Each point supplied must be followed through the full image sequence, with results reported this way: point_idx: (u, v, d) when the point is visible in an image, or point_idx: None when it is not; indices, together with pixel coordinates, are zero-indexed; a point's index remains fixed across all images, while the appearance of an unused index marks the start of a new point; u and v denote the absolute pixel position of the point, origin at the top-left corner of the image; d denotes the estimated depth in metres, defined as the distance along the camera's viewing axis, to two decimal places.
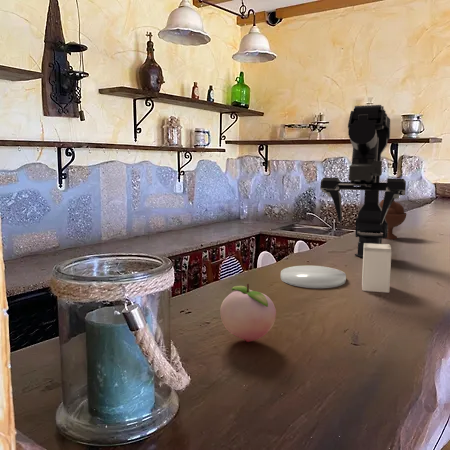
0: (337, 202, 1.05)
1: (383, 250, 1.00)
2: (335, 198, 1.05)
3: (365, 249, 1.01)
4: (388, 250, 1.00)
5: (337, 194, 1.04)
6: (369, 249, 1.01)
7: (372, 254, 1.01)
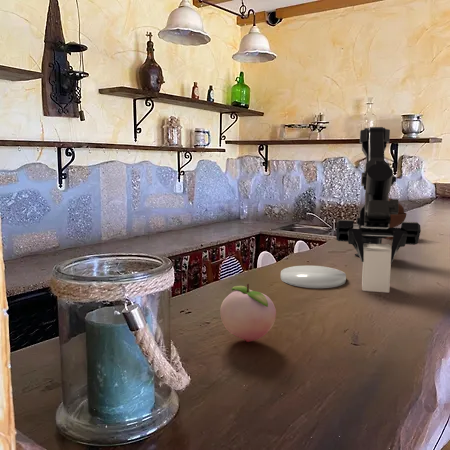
0: (359, 242, 1.05)
1: (383, 250, 1.00)
2: (358, 238, 1.05)
3: (365, 249, 1.01)
4: (388, 250, 1.00)
5: (360, 233, 1.05)
6: (369, 249, 1.01)
7: (372, 254, 1.01)
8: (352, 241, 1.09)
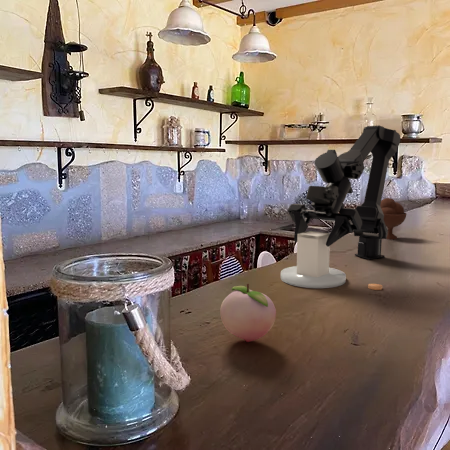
0: (297, 224, 1.15)
1: (311, 237, 1.08)
2: (297, 220, 1.15)
3: (298, 235, 1.10)
4: (315, 237, 1.07)
5: (299, 216, 1.15)
6: (301, 235, 1.10)
7: (303, 241, 1.10)
8: None
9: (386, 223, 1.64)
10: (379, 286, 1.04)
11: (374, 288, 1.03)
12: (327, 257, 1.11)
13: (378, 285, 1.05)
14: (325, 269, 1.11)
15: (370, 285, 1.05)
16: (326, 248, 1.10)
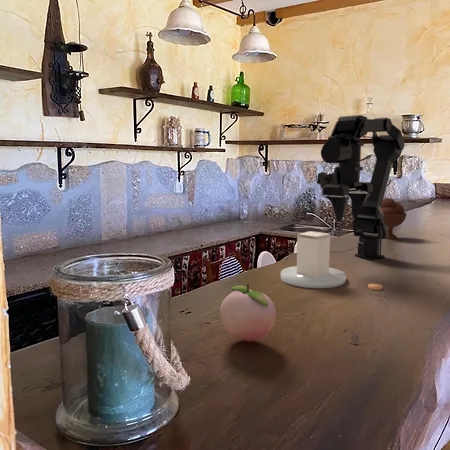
0: None
1: (311, 237, 1.08)
2: None
3: (298, 235, 1.10)
4: (315, 237, 1.07)
5: None
6: (301, 235, 1.10)
7: (303, 241, 1.09)
8: None
9: (386, 223, 1.64)
10: (379, 286, 1.04)
11: (374, 288, 1.03)
12: (327, 257, 1.11)
13: (378, 285, 1.05)
14: (325, 269, 1.11)
15: (370, 285, 1.05)
16: (326, 248, 1.10)
